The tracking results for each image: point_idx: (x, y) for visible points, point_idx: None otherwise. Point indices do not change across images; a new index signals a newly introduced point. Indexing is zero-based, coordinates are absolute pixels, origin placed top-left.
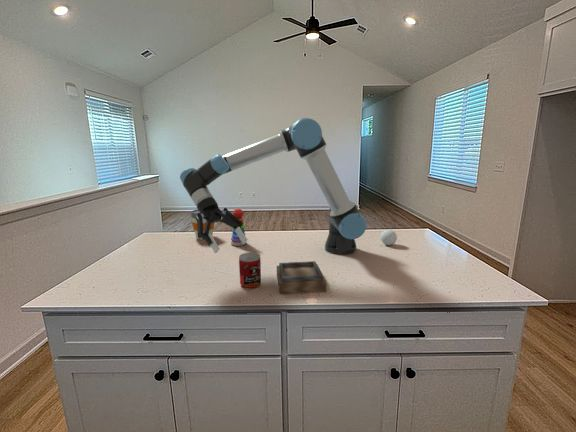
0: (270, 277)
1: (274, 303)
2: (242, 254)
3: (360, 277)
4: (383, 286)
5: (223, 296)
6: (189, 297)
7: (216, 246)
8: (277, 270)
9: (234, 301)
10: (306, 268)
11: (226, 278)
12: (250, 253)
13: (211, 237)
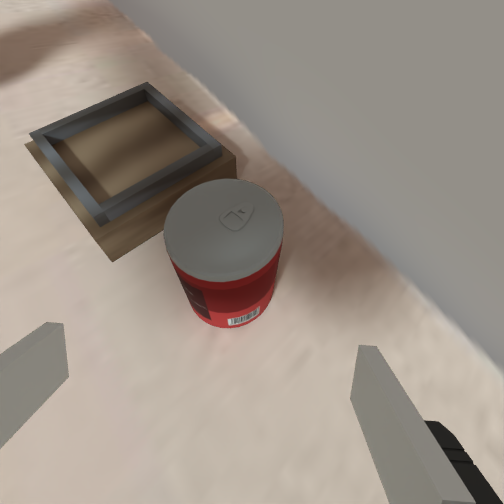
0: (141, 269)
1: (286, 169)
2: (223, 270)
3: (39, 90)
4: (77, 53)
5: (361, 304)
6: (469, 411)
7: (384, 363)
8: (143, 211)
9: (355, 252)
10: (82, 151)
11: (244, 426)
12: (180, 249)
13: (434, 450)
